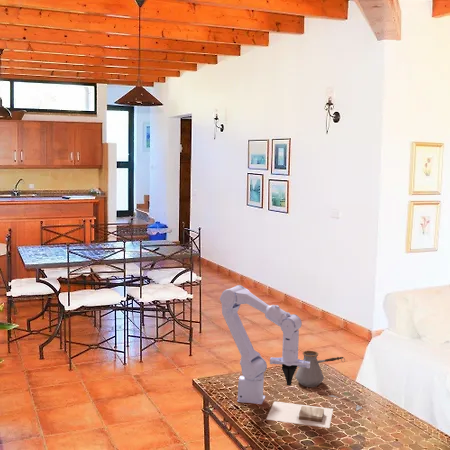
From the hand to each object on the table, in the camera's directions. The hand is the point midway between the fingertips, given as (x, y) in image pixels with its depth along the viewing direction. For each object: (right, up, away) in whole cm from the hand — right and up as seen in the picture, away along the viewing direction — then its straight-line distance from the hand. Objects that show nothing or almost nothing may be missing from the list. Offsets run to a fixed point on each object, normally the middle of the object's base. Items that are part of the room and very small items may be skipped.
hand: (289, 384), depth 217 cm
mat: (+4, -10, -4) cm, 11 cm away
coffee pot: (+15, -7, +23) cm, 28 cm away
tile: (+3, -9, -5) cm, 11 cm away
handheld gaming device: (+20, -10, +6) cm, 23 cm away
